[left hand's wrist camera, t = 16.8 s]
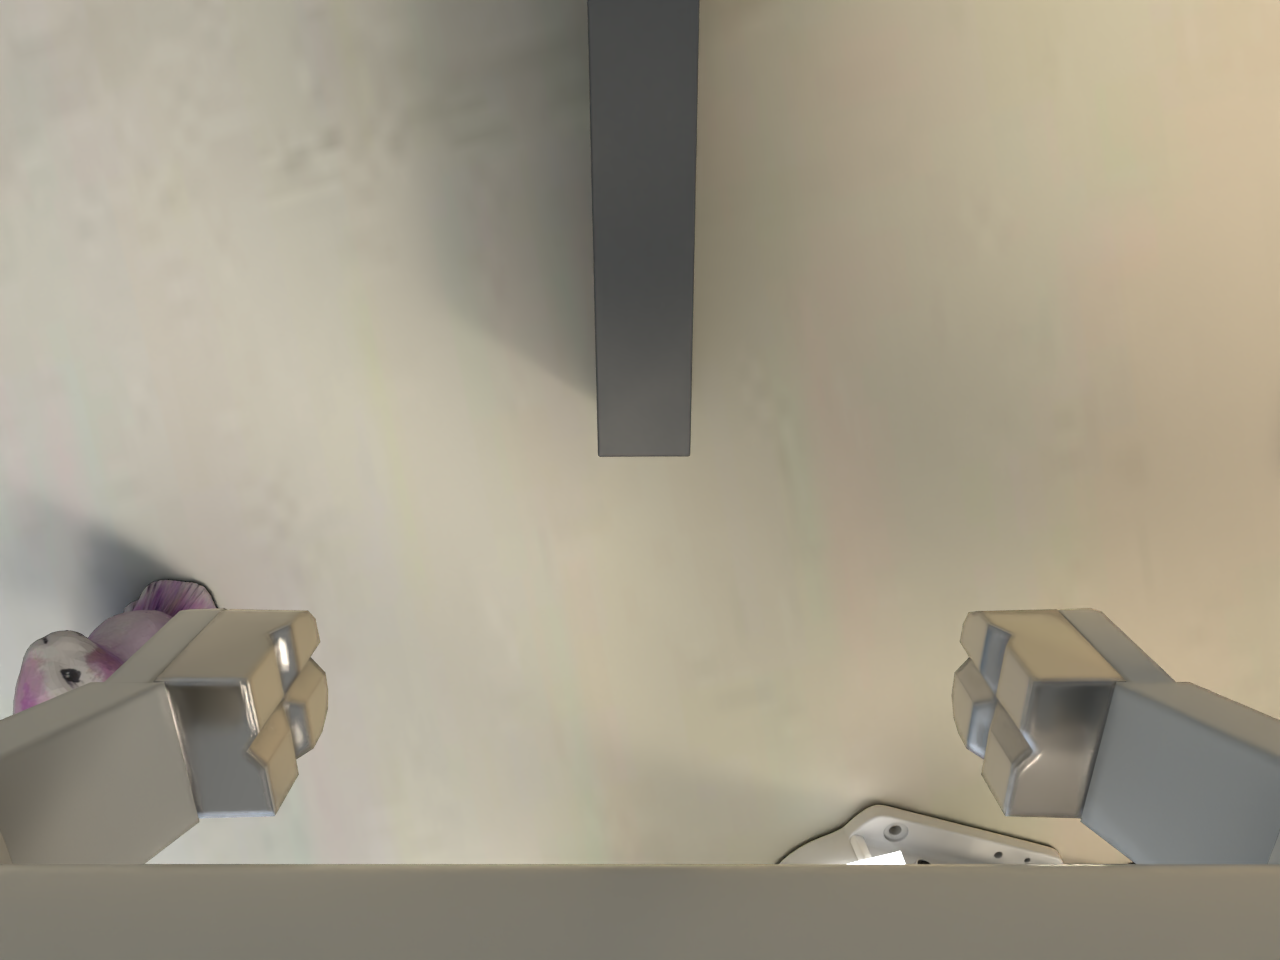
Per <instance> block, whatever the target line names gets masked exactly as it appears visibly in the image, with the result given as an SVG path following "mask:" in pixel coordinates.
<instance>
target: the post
mask: <svg viewBox="0 0 1280 960" xmlns="http://www.w3.org/2000/svg"><path fill="white" fill-rule="evenodd" d="M587 3H588V46H589V88H590V131H591V173H592V216H593V259H594V301H595V344H596V386H597V429H598V456H600V457H638V456H690V439H691V390H692V342H693V293H694V244H695V195H696V146H697V98H698V49H699V0H587Z"/></svg>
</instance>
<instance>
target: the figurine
mask: <svg viewBox="0 0 1280 960" xmlns="http://www.w3.org/2000/svg"><path fill="white" fill-rule="evenodd" d="M188 609H217V608H216V607H215V604H214V602H213V600H212V597H211V596H210V594H209V593H208V591H207V590H206V588H205V587H203V586H200V585H198V584H197V583H192V582H191V583H189V582H186V583H185V582H184V581H183V582H180V581H175V580H174V581H172V580H159V581H154V582H153V583H151V584H149V585H148V586H147V587H146V588H145V589H144V590H143V592H142V593H141V596H140V598H139V600H136V601H134V602H131V603H130V604H129V605H128V606H127V607H126V608H125V609H124V613H121V614H118V615H115V616H113V617H110V618H108V619H107V620H105V621H104V622H103V623H102V624H101V625H99V626H98V627H97V628H96V629H95V630H94V631H93V632H92V633H91V635H90V636H89V637H88V638H87V637H85V636H84V635H82V634H80V633H78V632H74V631H68V630H66V631H57V632H53V633H50V634H49V635H47V636H45V637H43V638H41V639H38V640H37V641H35V642H34V643H33V644H31V645H30V647H29V648H28V649H27V651H26V653H25V656H24V658H23V662H22V667H21V671H20V674H19V677H18V680H17V684H16V688H15V696H14V702H13V715H14V714H16V713H19V712H21V711H23V710H26V709H28V708H31V707H33V706H35V705H38V704H40V703H42V702H45V701H47V700H49V699H52V698H54V697H57V696H59V695H61V694H64V693H66V692H68V691H71V690H73V689H76V688H78V687H80V686H83V685H85V684H87V683H90V682H105V681H106V680H107V679H108V678H109V677H110V676H111V675H112V674H113V673H114V672H115V671H116V670H117V669H118V668H119V667H121V666H122V665H123V664H124V663H125V662H126V661H127V660H128V659H129V658H130V657H131V656H132V655H133V654H134V653H135V652H136V651H138V650H139V649H140V648H141V647H142V646H143V645H144V644H145V643H146V642H147V641H148V640H149V639H150V638H151V637H152V636H153V635H155V634H156V633H157V632H158V631H159V630H160V629H161V628H162V627H163V626H164V625H165V624H166V623H167V622H168V621H169V620H170V619H171V618H173V617H174V616H175V615H176V614H177V613H178V612H179V611H181V610H188Z"/></svg>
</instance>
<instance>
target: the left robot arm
mask: <svg viewBox="0 0 1280 960" xmlns="http://www.w3.org/2000/svg"><path fill="white" fill-rule="evenodd" d="M319 643H320V638H319V633H318V629H317V624H316V619H315V618H314V617H313V615H312V614H311V613H310V612H309V611H304V610H252V609H229V610H227V609H225V608H217V609H188V610H181V611H179V612H178V613H177V614H176V615H175V616H174V617H173V618H171V619H170V620H169V621H168V622H167V623H166V624H165V625H164V626H163V627H162V628H161V629H160V630H159V631H158V632H157V633H156V634H155V635H153V636H152V637H151V638H150V639H149V640H148V641H147V642H146V643H145V644H144V645H143V646H142V647H141V648H140V649H139V650H138V651H136V652H135V653H134V654H133V655H132V656H131V657H130V658H129V659H128V660H127V661H126V662H125V663H124V664H123V665H122V666H121V667H119V668H118V669H117V670H116V671H115V672H114V673H113V674H112V675H111V676H110V677H109V678H108V679H107V680H106V681H105V682H90V683H87V684H85V685H83V686H80V687H78V688H76V689H73V690H71V691H68V692H66V693H64V694H61V695H59V696H57V697H54V698H52V699H49V700H47V701H45V702H42V703H40V704H38V705H35V706H33V707H31V708H28V709H26V710H23V711H21V712H19V713H16V714H14V715H12V716H9V717H7V718H4V719H2V720H0V960H1280V720H1278V719H1275V718H1273V717H1271V716H1268V715H1266V714H1263V713H1261V712H1259V711H1256V710H1254V709H1252V708H1249V707H1247V706H1245V705H1242V704H1240V703H1238V702H1235V701H1233V700H1230V699H1228V698H1226V697H1223V696H1221V695H1219V694H1216V693H1214V692H1212V691H1209V690H1207V689H1204V688H1202V687H1200V686H1197V685H1195V684H1193V683H1190V682H1175V681H1174V680H1173V679H1172V678H1171V677H1170V676H1169V675H1168V674H1167V673H1166V672H1165V671H1164V670H1163V669H1162V668H1161V667H1160V666H1159V665H1157V664H1156V663H1155V662H1154V661H1153V660H1152V659H1151V658H1150V657H1149V656H1148V655H1147V654H1146V653H1145V652H1144V651H1143V650H1142V649H1141V648H1139V647H1138V646H1137V645H1136V644H1135V643H1134V642H1133V641H1132V640H1131V639H1130V638H1129V637H1128V636H1127V635H1126V634H1125V633H1124V632H1123V631H1121V630H1120V629H1119V628H1118V627H1117V626H1116V625H1115V624H1114V623H1113V622H1112V621H1111V620H1110V619H1109V618H1108V617H1107V616H1106V615H1105V614H1103V613H1102V612H1101V611H1098V610H1095V609H1092V608H1081V609H1047V610H1006V611H976V612H968V615H967V617H966V619H965V621H964V623H963V627H962V632H961V638H960V643H961V645H962V646H963V648H964V649H965V651H966V652H967V654H968V655H969V658H968V659H967V660H966V661H965V662H964V663H963V664H962V665H961V666H960V667H959V669H958V670H957V671H956V672H955V673H954V681H953V689H952V706H953V716H954V721H955V724H956V727H957V730H958V733H959V735H960V737H961V739H962V741H963V743H964V745H965V746H966V748H967V749H968V750H970V751H971V752H973V753H975V754H976V755H978V756H979V757H981V758H982V759H984V762H983V768H982V773H981V775H982V777H983V778H984V780H985V782H986V784H987V785H988V787H989V789H990V791H991V792H992V794H993V796H994V797H995V799H996V801H997V803H998V804H999V806H1000V808H1001V810H1002V811H1003V813H1004V815H1005V816H1019V817H1055V818H1081V821H1080V822H1082V823H1083V824H1084V825H1086V826H1087V827H1088V828H1090V829H1091V830H1092V831H1094V832H1095V833H1096V834H1097V835H1099V836H1100V837H1101V838H1103V839H1104V840H1105V841H1107V842H1108V843H1109V844H1111V845H1112V846H1113V847H1114V848H1116V849H1117V850H1118V851H1120V852H1121V853H1122V854H1124V855H1125V856H1126V857H1128V858H1129V859H1130V860H1131V861H1133V862H1134V863H1131V864H1064V863H1063V861H1062V859H1061V857H1060V855H1059V853H1058V851H1057V850H1055V849H1053V848H1051V847H1048V846H1044V845H1040V844H1037V843H1033V842H1029V841H1025V840H1021V839H1017V838H1013V837H1009V836H1005V835H1001V834H997V833H993V832H989V831H985V830H981V829H977V828H973V827H969V826H965V825H961V824H957V823H953V822H949V821H945V820H941V819H937V818H933V817H929V816H925V815H921V814H917V813H913V812H909V811H905V810H902V809H898V808H894V807H890V806H885V805H874V806H871V807H868V808H866V809H865V810H863V811H862V812H860V813H859V814H858V815H856V816H855V817H854V818H853V819H852V820H851V821H849V822H848V823H847V824H846V825H845V826H844V827H843V828H841V829H839V830H837V831H835V832H833V833H831V834H828V835H825V836H823V837H820V838H818V839H815V840H813V841H811V842H809V843H807V844H805V845H803V846H801V847H800V848H798V849H796V850H795V851H794V852H792V853H791V854H789V855H788V856H787V857H786V858H784V859H783V860H782V861H781V862H780V863H779V864H145V863H146V862H148V861H149V860H150V859H151V858H153V857H154V856H155V855H157V854H158V853H159V852H161V851H162V850H163V849H165V848H166V847H167V846H168V845H170V844H171V843H172V842H174V841H175V840H176V839H178V838H179V837H180V836H182V835H183V834H184V833H185V832H187V831H188V830H189V829H191V828H192V827H193V826H195V825H196V824H197V823H199V818H224V817H259V816H275V815H276V813H277V811H278V810H279V808H280V806H281V805H282V803H283V801H284V799H285V798H286V796H287V794H288V792H289V791H290V789H291V787H292V785H293V784H294V782H295V780H296V778H297V777H298V775H299V773H298V768H297V762H296V759H298V758H299V757H301V756H302V755H304V754H305V753H307V752H309V751H310V750H312V749H313V748H314V746H315V745H316V743H317V741H318V739H319V737H320V735H321V733H322V731H323V727H324V723H325V719H326V714H327V710H328V686H327V680H326V673H325V672H324V671H323V670H322V669H321V668H320V666H319V665H318V664H317V663H316V662H315V661H314V660H313V659H312V658H311V655H312V654H313V652H314V651H315V649H316V648H317V646H318V645H319ZM892 826H894V827H892Z"/></svg>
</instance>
